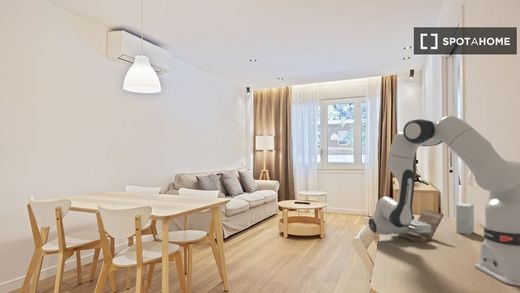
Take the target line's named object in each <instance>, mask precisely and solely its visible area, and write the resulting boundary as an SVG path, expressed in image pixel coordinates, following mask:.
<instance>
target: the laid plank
mask: <svg viewBox="0 0 520 293" xmlns="http://www.w3.org/2000/svg"><path fill="white" fill-rule="evenodd" d="M398 236H400V237H402V238H405V239H407V240H409V241H413V242H416V243H417V242H427V241H429V240H428V237H426V236H423V235H420V234H417V233H414V232H412V231H411V230H409V232H408V233H406V234H398Z"/></svg>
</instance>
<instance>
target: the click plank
mask: <svg viewBox="0 0 520 293" xmlns="http://www.w3.org/2000/svg"><path fill="white" fill-rule="evenodd" d="M444 216H445V215H444V214H443V213H442V212H436V211H434V210H433V211H432V210H428V209H425V208H424V209H422V212H421V214H420V215H419V217H418V219H417V221H420V222H421V221H422V222H426V223H427V224H429V225H431V232H430V233H419V232H414V231H412V232H414V233H417V234H420V235H423V236H426V237H428V241H432V239H433V237H434V235H435V233H436V231H437V229H438V228H439V225H440V223H441V221H442V219H443V217H444Z"/></svg>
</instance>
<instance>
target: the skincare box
mask: <svg viewBox="0 0 520 293" xmlns="http://www.w3.org/2000/svg"><path fill="white" fill-rule="evenodd" d="M474 206H475V205H474V204H472V203H464V202H460V203H458V204H456V206H455V208H456V209H455V211H456V213H455V214H456V215H455V218H456V220H455V221H456V223H455V225H456V230H455V231H456V233H457V232H458V234H462V233H463V235H468V236H469V235H470V234H472V233H474V231H475V228H474V227H475V225H474V224H475V222H474V220H475V218H474V217H475V216H474V215H475V214H474V213H475V211H474V210H475V209H474V208H475V207H474Z"/></svg>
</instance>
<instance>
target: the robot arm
mask: <svg viewBox="0 0 520 293" xmlns="http://www.w3.org/2000/svg"><path fill="white" fill-rule="evenodd" d="M442 143H444V144H445V145H446V146H447V147H448V149H451V150H452V151H453V152H454V154H455V155H456V156H457V157H459V159H461V160H462V162H463V163H464V165H466V167H467V168H468V169H469V170H470V172H471V174H472V175H473V176H474V180H475V183H476V184H477V186H478V187H479V188H481V189H482V190H484V191H488V192H489V195H488V197H487V198H488V199H487V202H486V203H485V205H484V206H485V207H484V216H485V218H484V219H485V222H484V224H485V227H484V228H483V237H484V240H483V241H482V242H481V243H480V245H479V246H480V247H479V259H478V260H479V262H476V263H475V268H477V270H480V271H482V272H483V273H485V274H487V275H489V276H491V277H493V278H495V279H496V280H498V281H500V282H502V283H504V284H508V285H510V286H511V285H512V286H516V287H517V286H518V287H520V162H518V161H515V160H505V159H503V158H502V156H500V154H498V152H497V151H496V150H495V148H494V147H493V146H492V143H491V142H490V141H488V139H486V138H485V137H484V136H483V135H482V134H481V133H479V131H477V130H476V129H475V128H473V127H472V126H471V125H470V124H469V123H467V122H466V121H464V120H463V119H461V118H459V117H457V116H455V115H447V116H444V117H442V118H441V119H439V120H438V122H436V121H433V120H430V119H421V118H414V119H411V120H409V121H408V122H406V124H404V126H403V130H402V131H401V132H398V133H396V134H395V135H394V137H393V139H392V142H391V144H390V148H389V150H388V155H387V158H386V161H387V162H386V164H387V165H386V166H387V168H388V170H389V171H390V173H392V174H393V176H394V177H395V179H396V181H397V183H398V196H397V200H395V199H393V198H392V197H390V196H382V197H380V198H379V199H378V200H377V201H376V204H375V210H374V213H373V214H372V216H370V217H369V219H368V227H369V229H370V230H371V233H373V234H376V235H379V236H380V235H382V236H387V235H388V236H389V235H392V234H393V235H399V234H406V233H408V232H410V231H414V232H419V233H430V232H431V225H429V224H427V223H426V222H422V221H421V222H420V221H418V220H415V219H414V220H412V218H413V216H414V212H413V201H414V192H415V184H416V182H415V181H416V177H415V173H414V160H415V157H416V152H417V150H418V149H419V148H420V147H421V146H422V147H433V146H439V145H440V144H442Z"/></svg>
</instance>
